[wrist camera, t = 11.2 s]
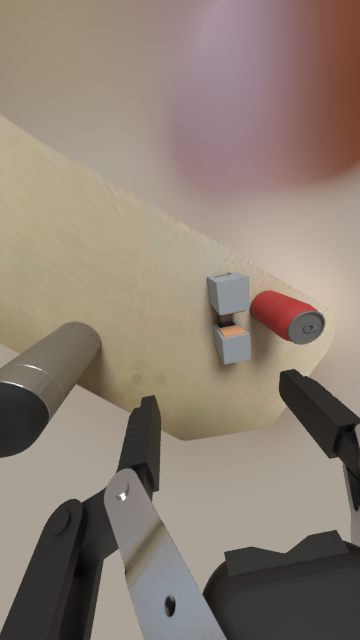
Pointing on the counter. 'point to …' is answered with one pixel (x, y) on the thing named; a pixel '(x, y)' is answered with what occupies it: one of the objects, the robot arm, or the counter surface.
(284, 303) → the beer can
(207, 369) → the counter surface
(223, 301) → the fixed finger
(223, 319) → the rail
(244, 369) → the counter surface
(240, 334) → the grey block
